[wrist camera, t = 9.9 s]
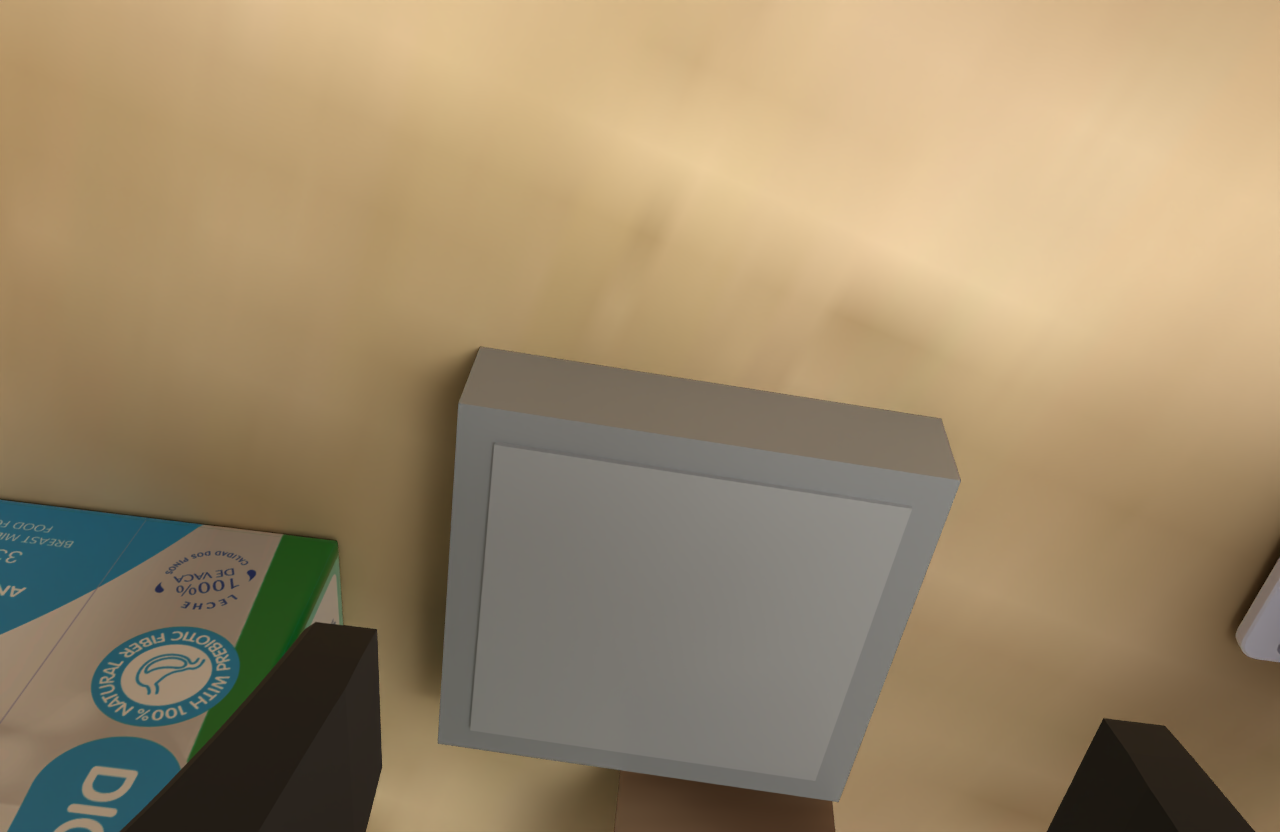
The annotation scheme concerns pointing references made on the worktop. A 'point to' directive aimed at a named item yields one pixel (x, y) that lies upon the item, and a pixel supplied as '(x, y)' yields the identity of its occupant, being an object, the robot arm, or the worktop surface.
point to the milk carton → (134, 651)
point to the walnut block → (713, 808)
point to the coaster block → (680, 571)
